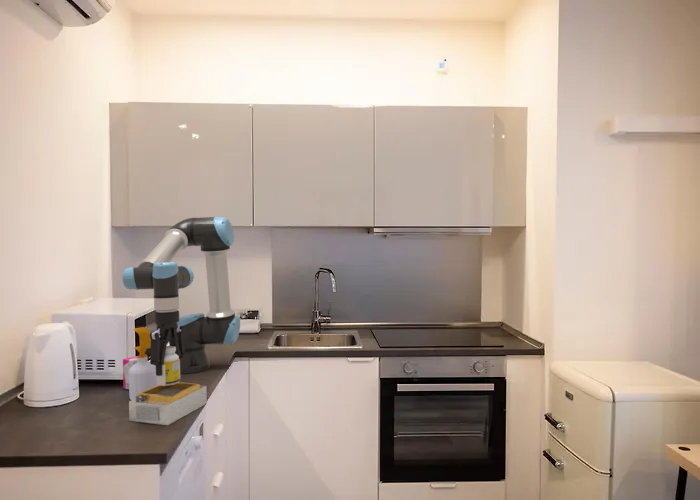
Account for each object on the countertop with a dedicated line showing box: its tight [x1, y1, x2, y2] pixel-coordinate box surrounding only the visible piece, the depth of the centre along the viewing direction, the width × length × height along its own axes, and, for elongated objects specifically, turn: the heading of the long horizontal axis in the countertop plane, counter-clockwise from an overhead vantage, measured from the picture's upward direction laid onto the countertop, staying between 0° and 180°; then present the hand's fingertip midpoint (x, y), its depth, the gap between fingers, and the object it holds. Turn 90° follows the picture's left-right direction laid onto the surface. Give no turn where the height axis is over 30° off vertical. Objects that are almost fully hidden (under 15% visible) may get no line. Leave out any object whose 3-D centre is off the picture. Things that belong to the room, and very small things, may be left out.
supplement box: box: [122, 355, 138, 391], centre depth 186 cm, size 6×6×12 cm
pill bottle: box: [159, 345, 180, 386], centre depth 159 cm, size 6×6×12 cm
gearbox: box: [128, 381, 208, 426], centre depth 160 cm, size 20×14×8 cm
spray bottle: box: [128, 326, 157, 401], centre depth 175 cm, size 9×9×25 cm
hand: (168, 381), depth 160 cm, fingers closed on pill bottle, 6 cm apart
